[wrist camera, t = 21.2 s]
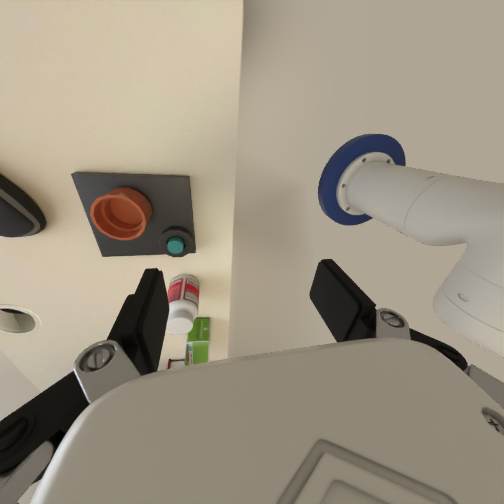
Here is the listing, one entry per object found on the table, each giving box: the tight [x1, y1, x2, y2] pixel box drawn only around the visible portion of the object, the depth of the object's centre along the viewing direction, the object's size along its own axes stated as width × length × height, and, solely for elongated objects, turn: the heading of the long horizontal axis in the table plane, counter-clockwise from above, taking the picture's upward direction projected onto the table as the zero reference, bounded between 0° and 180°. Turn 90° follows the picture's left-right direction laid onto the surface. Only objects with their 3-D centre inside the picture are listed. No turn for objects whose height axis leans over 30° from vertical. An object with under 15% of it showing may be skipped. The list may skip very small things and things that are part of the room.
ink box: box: [184, 318, 210, 366], centre depth 46 cm, size 10×5×14 cm, turn 172°
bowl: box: [90, 187, 152, 240], centre depth 30 cm, size 7×7×5 cm
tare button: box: [167, 237, 184, 254], centre depth 34 cm, size 3×3×2 cm
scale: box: [71, 172, 196, 257], centre depth 33 cm, size 16×14×3 cm
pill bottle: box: [166, 275, 199, 335], centre depth 39 cm, size 6×6×11 cm
